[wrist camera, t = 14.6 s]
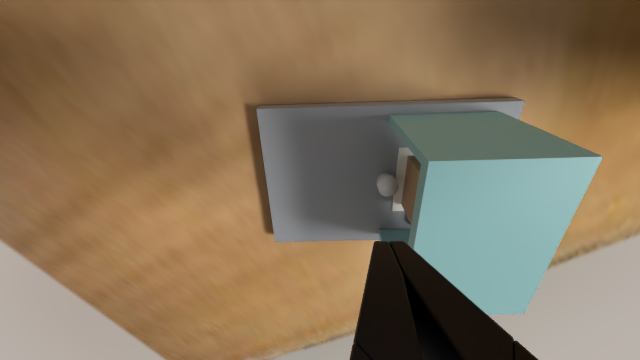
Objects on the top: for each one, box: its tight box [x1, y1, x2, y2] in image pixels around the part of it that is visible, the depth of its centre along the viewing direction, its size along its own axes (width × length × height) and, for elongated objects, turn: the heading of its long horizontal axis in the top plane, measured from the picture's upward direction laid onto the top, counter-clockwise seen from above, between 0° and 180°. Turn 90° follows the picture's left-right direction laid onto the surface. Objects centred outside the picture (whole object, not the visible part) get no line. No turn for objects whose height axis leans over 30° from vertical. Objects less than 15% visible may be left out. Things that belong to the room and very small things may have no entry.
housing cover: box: [379, 112, 603, 314], centre depth 17 cm, size 7×10×7 cm
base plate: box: [256, 98, 525, 242], centre depth 20 cm, size 17×11×2 cm, turn 92°
